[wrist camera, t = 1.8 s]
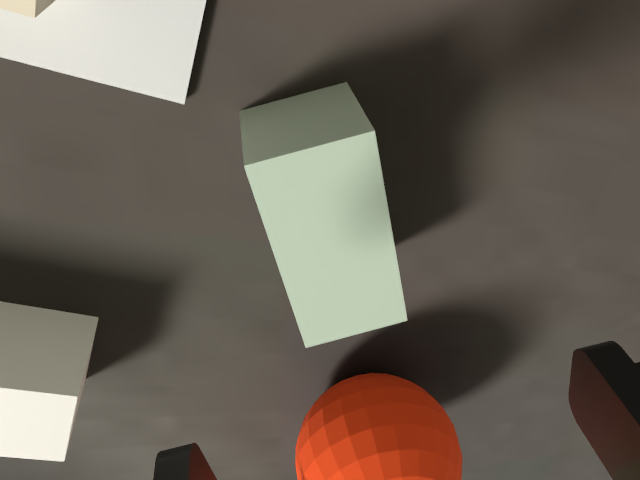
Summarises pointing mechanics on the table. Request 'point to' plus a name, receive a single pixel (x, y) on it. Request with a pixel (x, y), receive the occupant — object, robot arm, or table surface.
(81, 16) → the mat
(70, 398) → the cream brick
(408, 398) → the clementine
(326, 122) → the sage brick
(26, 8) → the birch brick
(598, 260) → the table surface
